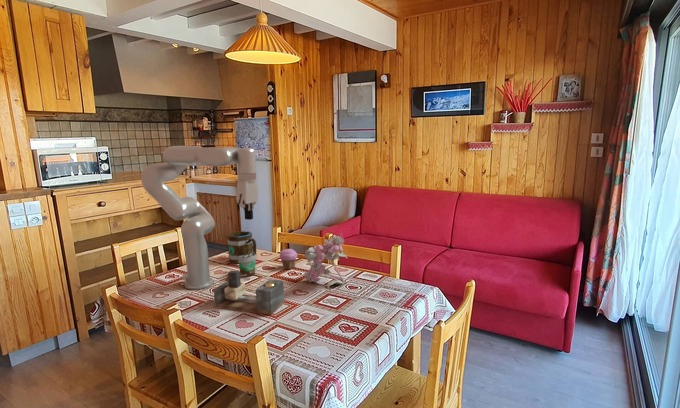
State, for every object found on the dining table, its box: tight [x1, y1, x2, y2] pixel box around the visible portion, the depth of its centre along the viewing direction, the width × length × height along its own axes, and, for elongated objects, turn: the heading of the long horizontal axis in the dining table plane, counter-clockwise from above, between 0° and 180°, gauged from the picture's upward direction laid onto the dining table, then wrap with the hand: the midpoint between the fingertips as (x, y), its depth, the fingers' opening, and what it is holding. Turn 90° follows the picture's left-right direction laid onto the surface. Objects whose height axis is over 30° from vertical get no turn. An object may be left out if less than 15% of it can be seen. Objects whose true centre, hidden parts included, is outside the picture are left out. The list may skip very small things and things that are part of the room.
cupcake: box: [279, 248, 298, 270], centre depth 196 cm, size 9×9×10 cm
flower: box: [302, 233, 348, 290], centre depth 174 cm, size 20×22×25 cm
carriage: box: [224, 269, 246, 300], centre depth 154 cm, size 5×7×10 cm
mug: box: [226, 230, 257, 265], centre depth 208 cm, size 20×14×15 cm
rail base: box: [213, 278, 285, 316], centre depth 153 cm, size 25×11×10 cm, turn 72°
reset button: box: [265, 282, 275, 287], centre depth 150 cm, size 4×4×6 cm
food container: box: [238, 252, 257, 279], centre depth 188 cm, size 12×6×10 cm, turn 168°
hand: (249, 219), depth 167 cm, fingers closed
